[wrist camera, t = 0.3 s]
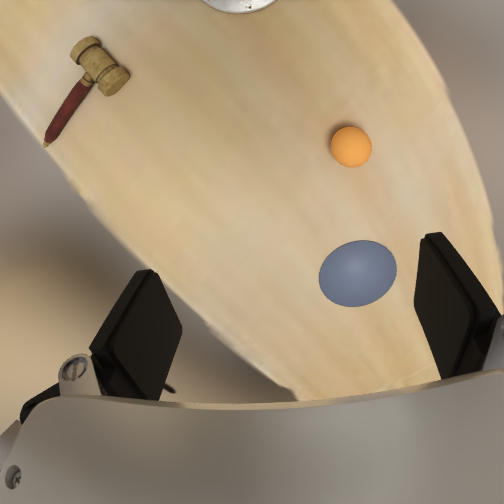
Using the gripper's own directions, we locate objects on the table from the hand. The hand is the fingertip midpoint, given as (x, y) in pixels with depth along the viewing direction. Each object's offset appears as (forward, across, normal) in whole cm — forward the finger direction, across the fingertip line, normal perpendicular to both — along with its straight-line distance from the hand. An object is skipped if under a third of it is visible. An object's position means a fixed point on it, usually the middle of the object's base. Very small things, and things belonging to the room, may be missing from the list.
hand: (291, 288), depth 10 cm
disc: (+35, -8, +26) cm, 44 cm away
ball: (+32, -8, +3) cm, 33 cm away
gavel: (+35, +31, -13) cm, 49 cm away
